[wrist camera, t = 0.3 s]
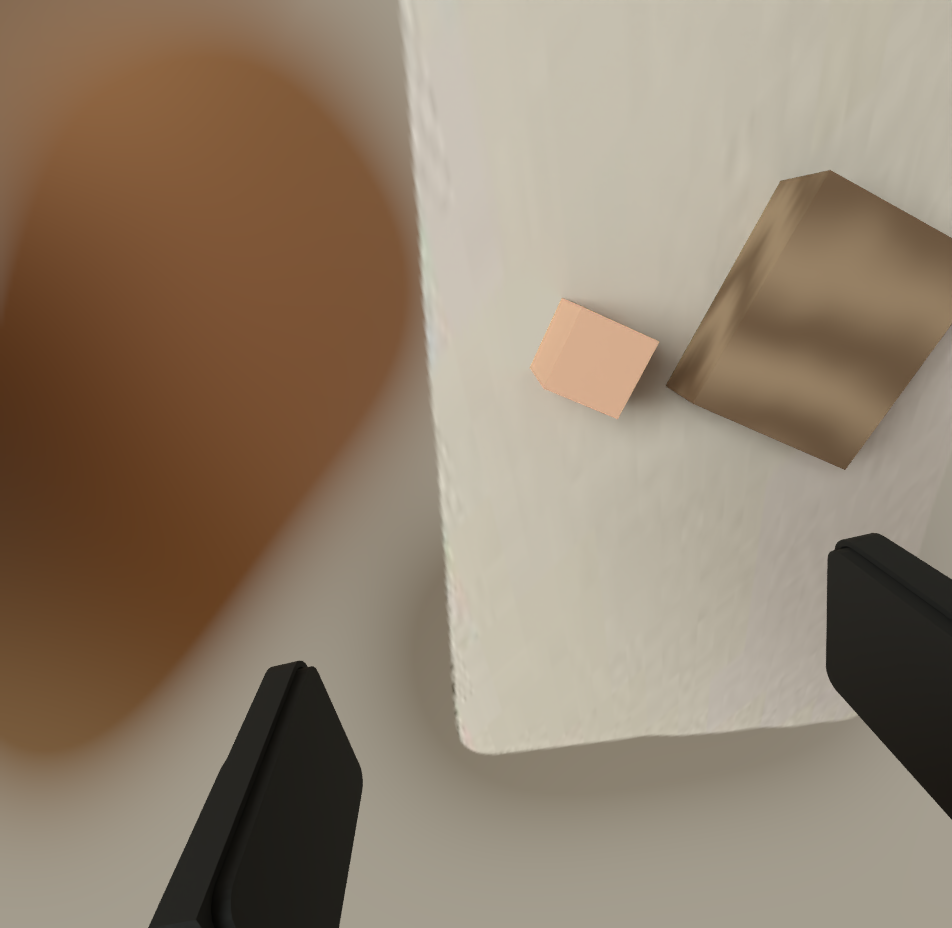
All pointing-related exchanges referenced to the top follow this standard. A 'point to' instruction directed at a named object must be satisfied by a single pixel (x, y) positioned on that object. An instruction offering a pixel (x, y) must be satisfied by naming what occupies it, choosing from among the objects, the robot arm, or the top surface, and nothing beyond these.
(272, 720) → the robot arm
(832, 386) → the walnut plinth
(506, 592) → the top surface
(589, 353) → the peach block
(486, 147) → the top surface
